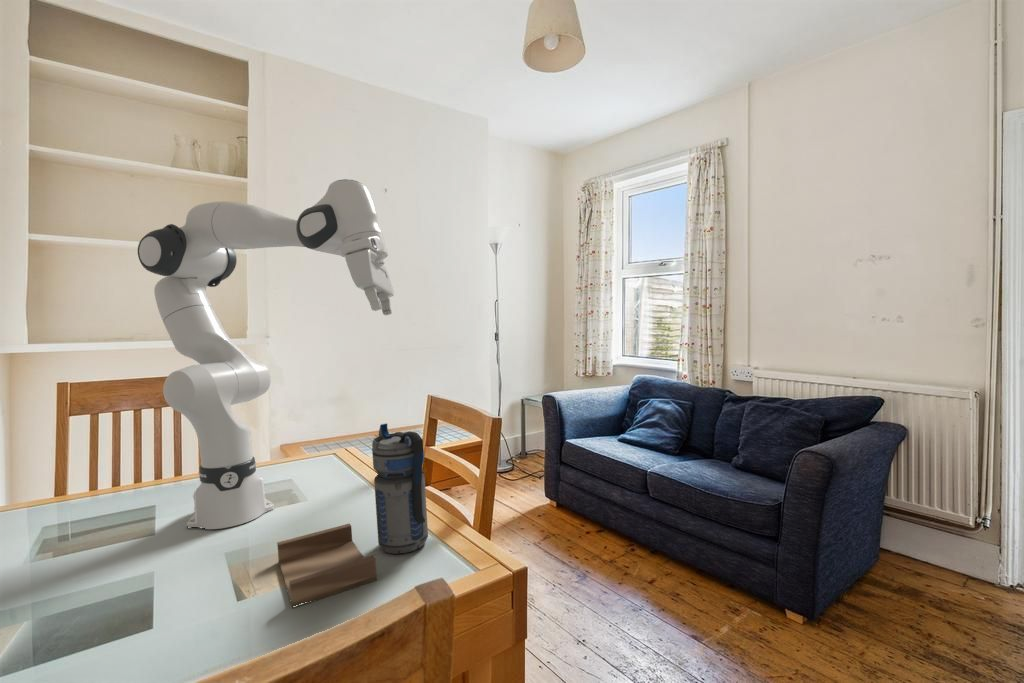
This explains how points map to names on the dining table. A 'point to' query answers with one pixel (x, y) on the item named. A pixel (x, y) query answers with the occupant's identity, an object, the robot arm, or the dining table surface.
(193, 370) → the robot arm
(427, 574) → the dining table surface
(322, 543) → the walnut cradle
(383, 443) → the beverage bottle
